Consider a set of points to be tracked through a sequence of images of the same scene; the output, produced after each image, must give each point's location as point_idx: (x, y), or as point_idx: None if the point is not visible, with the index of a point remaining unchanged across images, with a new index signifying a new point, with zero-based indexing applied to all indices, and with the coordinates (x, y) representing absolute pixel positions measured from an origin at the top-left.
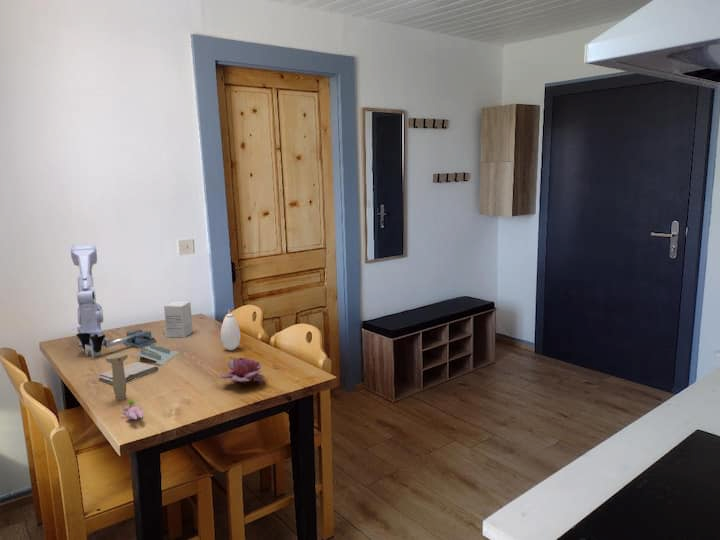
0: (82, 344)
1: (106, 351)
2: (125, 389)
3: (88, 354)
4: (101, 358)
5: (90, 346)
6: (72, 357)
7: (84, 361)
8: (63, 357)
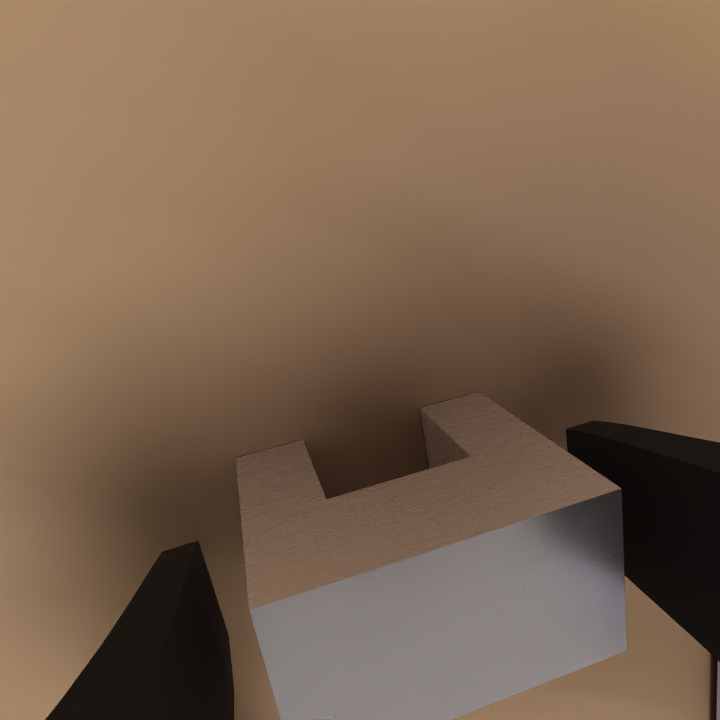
0: (693, 449)
1: None
2: None
3: (428, 425)
4: (4, 542)
5: (361, 561)
6: (545, 159)
7: (66, 216)
8: (684, 41)
